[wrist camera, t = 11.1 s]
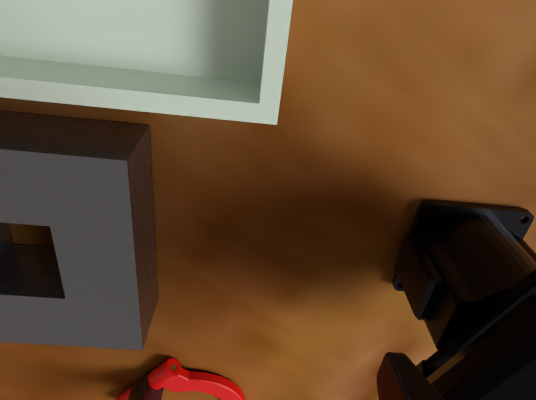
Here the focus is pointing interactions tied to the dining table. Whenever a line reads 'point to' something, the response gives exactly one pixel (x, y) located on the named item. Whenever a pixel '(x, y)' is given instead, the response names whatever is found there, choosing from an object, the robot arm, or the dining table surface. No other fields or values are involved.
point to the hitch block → (77, 232)
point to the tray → (148, 55)
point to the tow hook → (180, 383)
